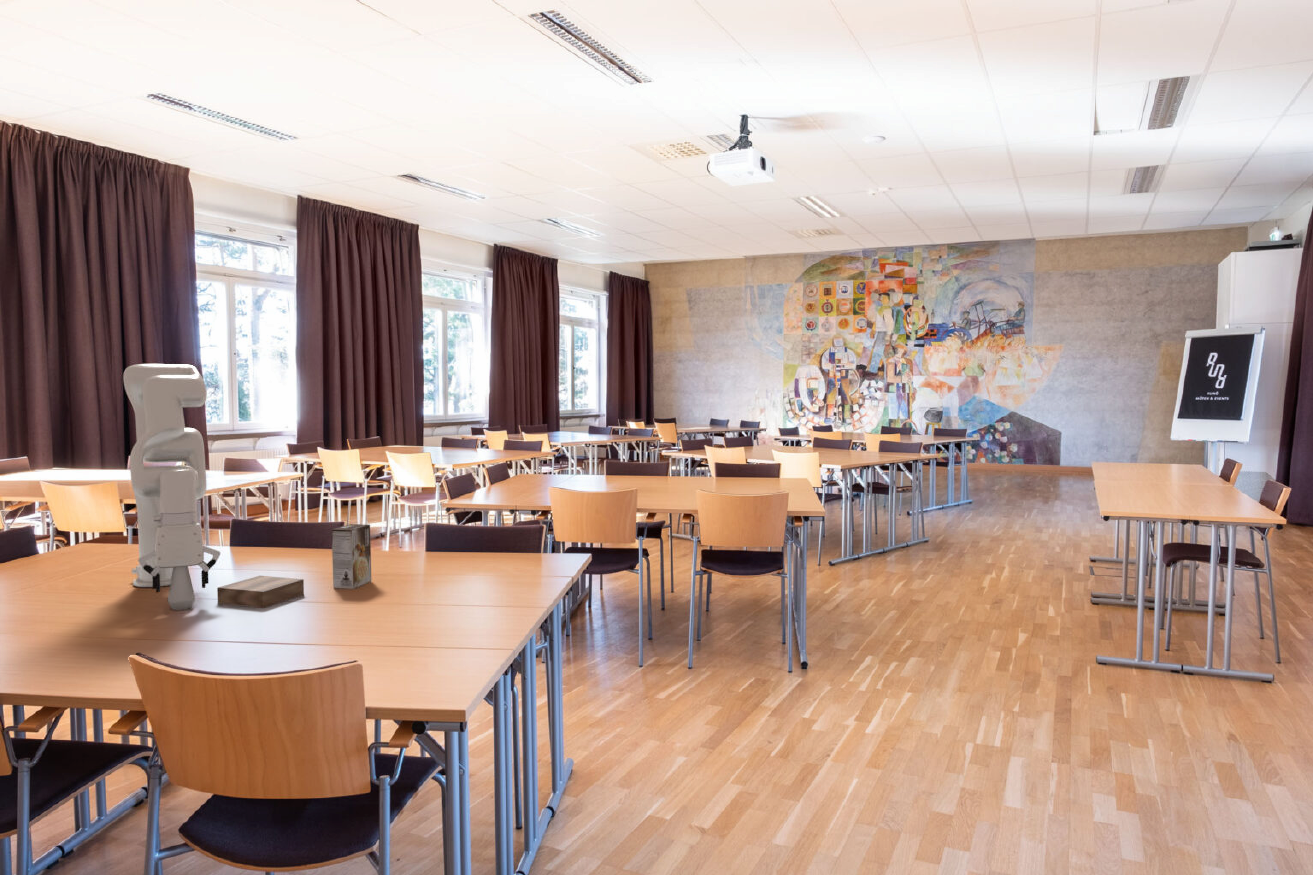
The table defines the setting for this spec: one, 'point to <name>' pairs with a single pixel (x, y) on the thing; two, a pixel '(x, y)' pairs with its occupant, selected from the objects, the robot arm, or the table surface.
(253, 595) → the walnut base
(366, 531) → the coffee box
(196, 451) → the robot arm
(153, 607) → the table surface
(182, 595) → the salt shaker
